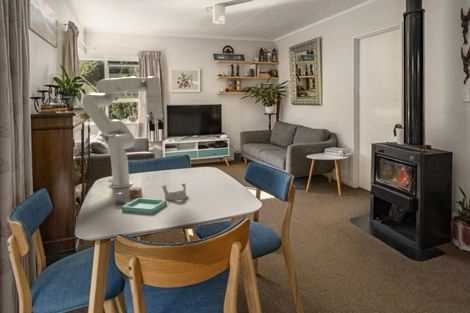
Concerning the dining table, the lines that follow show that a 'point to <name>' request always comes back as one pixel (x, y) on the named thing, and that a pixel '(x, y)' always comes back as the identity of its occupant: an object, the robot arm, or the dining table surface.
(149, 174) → the dining table surface
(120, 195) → the grey metal cylinder
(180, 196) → the anatomical model
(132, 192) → the walnut block
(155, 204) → the tray
